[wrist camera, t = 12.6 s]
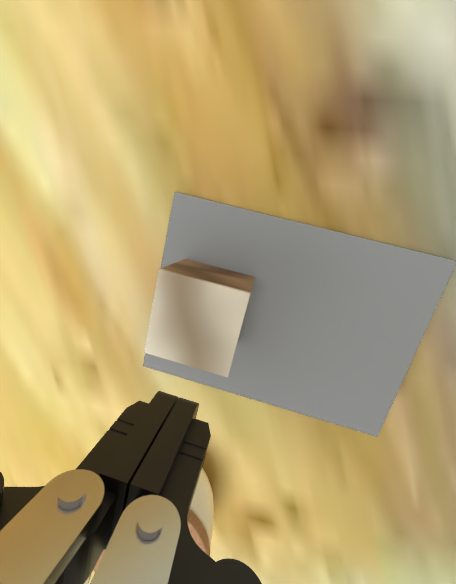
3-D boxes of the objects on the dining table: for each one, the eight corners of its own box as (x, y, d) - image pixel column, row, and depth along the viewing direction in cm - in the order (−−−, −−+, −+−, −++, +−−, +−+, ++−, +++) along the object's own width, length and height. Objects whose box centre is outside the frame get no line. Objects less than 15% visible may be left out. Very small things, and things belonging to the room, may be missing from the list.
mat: (453, 260, 21) (457, 261, 21) (375, 433, 25) (377, 436, 25) (176, 192, 23) (174, 191, 23) (144, 364, 27) (143, 366, 27)
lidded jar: (122, 497, 31) (63, 607, 22) (127, 414, 29) (61, 501, 20) (216, 521, 30) (194, 647, 21) (230, 437, 28) (211, 540, 19)
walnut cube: (159, 269, 18) (185, 258, 24) (143, 352, 19) (172, 323, 25) (250, 293, 17) (255, 276, 23) (227, 377, 19) (237, 342, 25)
